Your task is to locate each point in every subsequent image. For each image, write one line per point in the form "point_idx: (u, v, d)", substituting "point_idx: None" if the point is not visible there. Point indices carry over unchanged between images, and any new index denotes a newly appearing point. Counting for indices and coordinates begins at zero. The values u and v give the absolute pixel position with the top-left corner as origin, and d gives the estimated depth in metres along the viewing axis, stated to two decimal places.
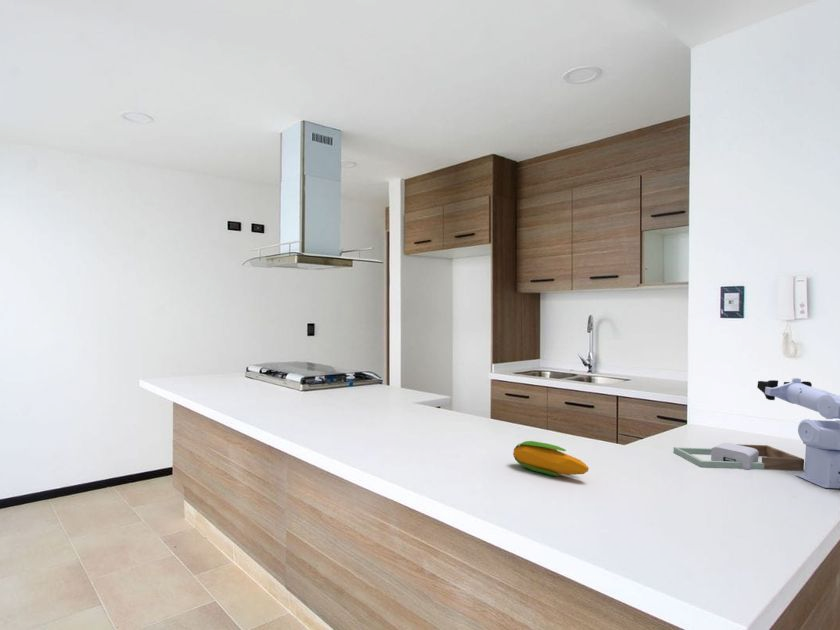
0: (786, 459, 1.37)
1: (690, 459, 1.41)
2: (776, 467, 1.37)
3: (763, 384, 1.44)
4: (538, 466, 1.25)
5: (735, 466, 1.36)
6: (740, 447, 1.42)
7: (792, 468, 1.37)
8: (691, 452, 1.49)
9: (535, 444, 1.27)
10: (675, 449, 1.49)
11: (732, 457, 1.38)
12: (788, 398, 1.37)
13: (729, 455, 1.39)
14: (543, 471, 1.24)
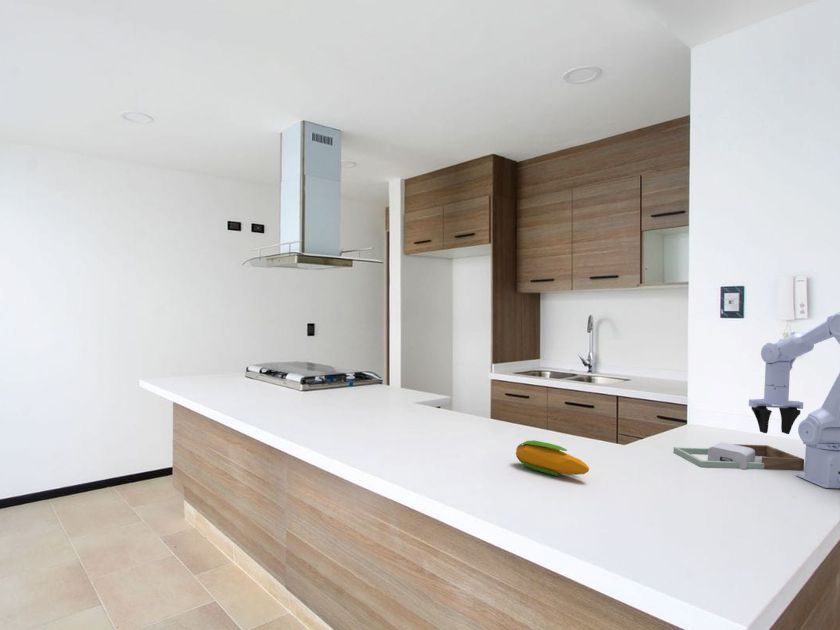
0: (786, 459, 1.37)
1: (690, 459, 1.41)
2: (776, 467, 1.37)
3: (760, 423, 1.44)
4: (539, 465, 1.25)
5: (735, 466, 1.36)
6: (737, 447, 1.42)
7: (792, 468, 1.37)
8: (691, 452, 1.49)
9: (537, 443, 1.27)
10: (675, 449, 1.49)
11: (729, 457, 1.38)
12: (771, 399, 1.42)
13: (725, 455, 1.39)
14: (544, 470, 1.24)
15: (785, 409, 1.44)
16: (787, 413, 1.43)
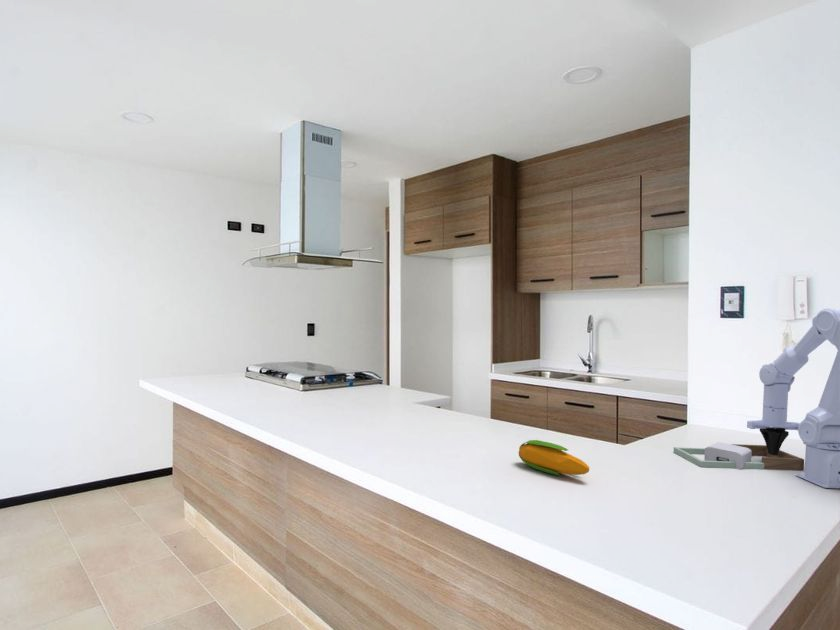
0: (786, 459, 1.37)
1: (690, 459, 1.41)
2: (776, 467, 1.37)
3: (768, 444, 1.44)
4: (541, 464, 1.26)
5: (735, 466, 1.36)
6: (733, 447, 1.42)
7: (792, 468, 1.37)
8: (691, 452, 1.49)
9: (539, 443, 1.28)
10: (675, 449, 1.49)
11: (725, 457, 1.38)
12: (769, 420, 1.42)
13: (722, 454, 1.39)
14: (545, 470, 1.25)
15: None
16: None
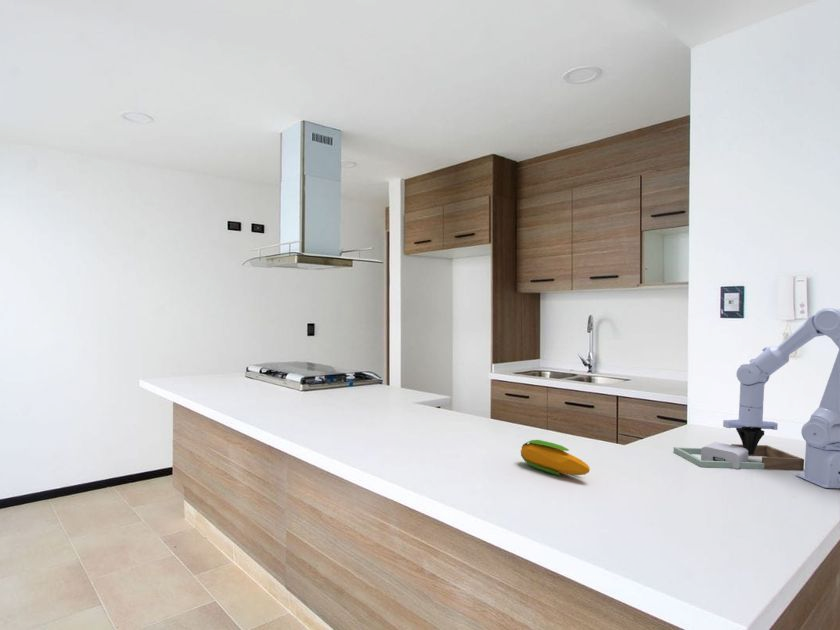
0: (786, 459, 1.37)
1: (690, 459, 1.41)
2: (776, 467, 1.37)
3: (745, 444, 1.44)
4: (542, 464, 1.26)
5: None
6: (730, 447, 1.42)
7: (792, 468, 1.37)
8: (691, 452, 1.49)
9: (540, 443, 1.28)
10: (675, 449, 1.49)
11: (722, 457, 1.38)
12: (745, 420, 1.42)
13: (718, 454, 1.39)
14: (546, 470, 1.25)
15: None
16: None
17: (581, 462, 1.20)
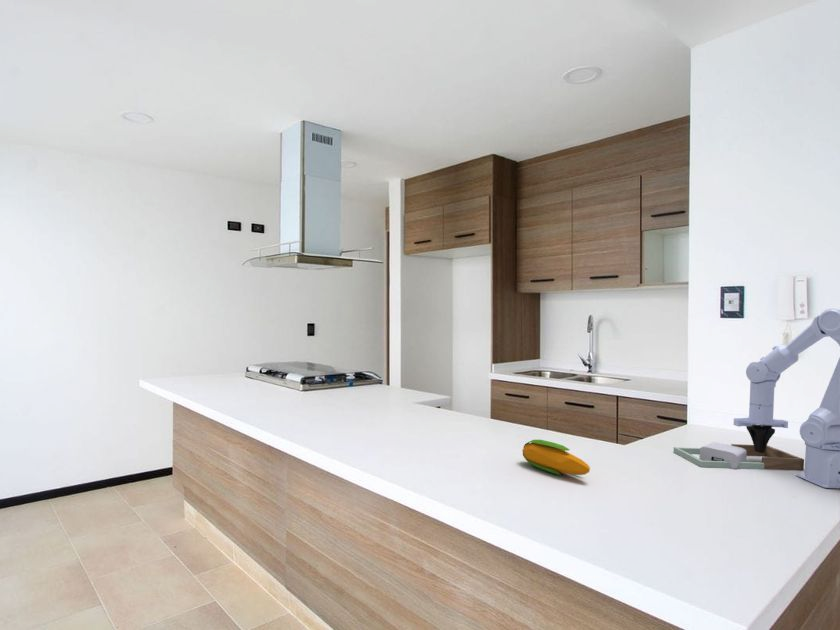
0: (786, 459, 1.37)
1: (690, 459, 1.41)
2: (776, 467, 1.37)
3: (755, 442, 1.44)
4: (543, 464, 1.26)
5: None
6: (728, 447, 1.42)
7: (792, 468, 1.37)
8: (691, 452, 1.49)
9: (541, 442, 1.28)
10: (675, 449, 1.49)
11: (720, 457, 1.38)
12: (755, 418, 1.42)
13: (717, 454, 1.39)
14: (547, 469, 1.25)
15: None
16: None
17: (581, 462, 1.20)
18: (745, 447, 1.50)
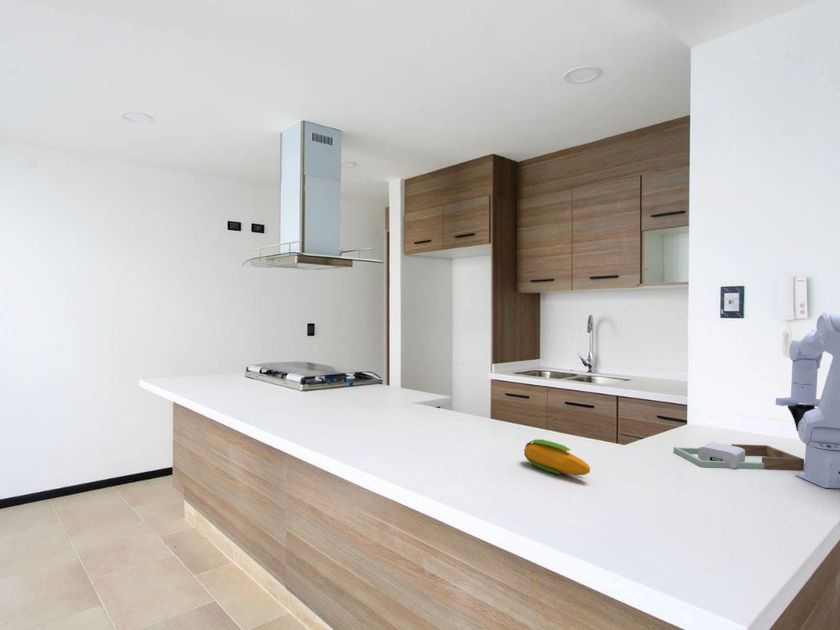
0: (786, 459, 1.37)
1: (690, 459, 1.41)
2: (776, 467, 1.37)
3: (797, 422, 1.42)
4: (543, 463, 1.26)
5: None
6: (727, 447, 1.42)
7: (792, 468, 1.37)
8: (691, 452, 1.49)
9: (543, 442, 1.28)
10: (675, 449, 1.49)
11: (719, 457, 1.38)
12: (799, 397, 1.40)
13: (715, 454, 1.39)
14: (548, 469, 1.25)
15: None
16: None
17: (582, 462, 1.20)
18: (745, 447, 1.50)
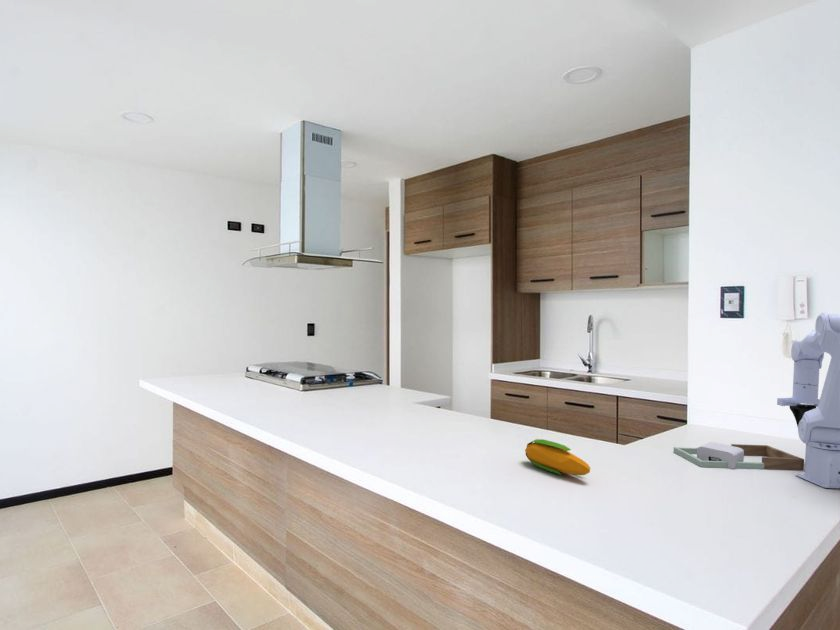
0: (786, 459, 1.37)
1: (690, 459, 1.41)
2: (776, 467, 1.37)
3: (799, 422, 1.42)
4: (544, 463, 1.27)
5: (735, 466, 1.36)
6: (725, 446, 1.42)
7: (792, 468, 1.37)
8: (691, 452, 1.49)
9: (543, 442, 1.29)
10: (675, 449, 1.49)
11: (717, 456, 1.38)
12: (800, 397, 1.40)
13: (714, 454, 1.39)
14: (548, 469, 1.26)
15: None
16: None
17: (582, 462, 1.20)
18: (745, 447, 1.50)
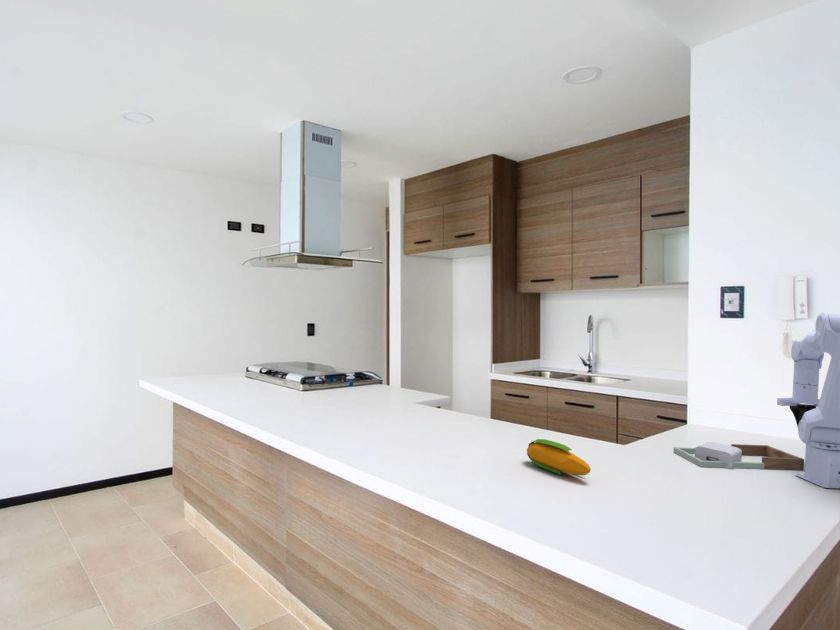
0: (786, 459, 1.37)
1: (690, 459, 1.41)
2: (776, 467, 1.37)
3: (799, 422, 1.42)
4: (545, 463, 1.27)
5: (735, 466, 1.36)
6: (723, 446, 1.42)
7: (792, 468, 1.37)
8: (691, 452, 1.49)
9: (545, 442, 1.29)
10: (675, 449, 1.49)
11: (715, 456, 1.38)
12: (800, 397, 1.40)
13: (712, 454, 1.39)
14: (549, 469, 1.26)
15: None
16: None
17: (582, 462, 1.20)
18: (745, 447, 1.50)
